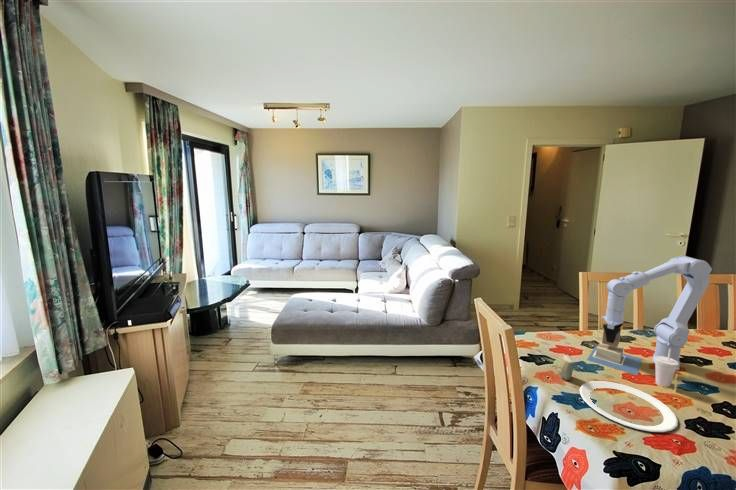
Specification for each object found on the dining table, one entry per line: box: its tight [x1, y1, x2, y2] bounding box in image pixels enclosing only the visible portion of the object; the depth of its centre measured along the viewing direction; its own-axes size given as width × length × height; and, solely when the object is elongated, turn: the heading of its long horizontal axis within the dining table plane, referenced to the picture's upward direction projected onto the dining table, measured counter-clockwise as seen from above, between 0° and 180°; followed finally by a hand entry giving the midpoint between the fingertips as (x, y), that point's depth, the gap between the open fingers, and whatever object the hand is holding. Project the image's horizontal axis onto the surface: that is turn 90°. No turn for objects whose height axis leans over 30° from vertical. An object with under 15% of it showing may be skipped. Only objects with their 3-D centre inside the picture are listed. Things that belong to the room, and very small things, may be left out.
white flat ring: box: [579, 380, 679, 434], centre depth 103 cm, size 25×25×1 cm
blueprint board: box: [586, 345, 643, 376], centre depth 130 cm, size 17×16×1 cm
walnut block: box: [601, 329, 622, 347], centre depth 131 cm, size 5×5×6 cm
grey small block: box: [557, 354, 575, 382], centre depth 118 cm, size 6×5×8 cm
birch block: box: [596, 341, 625, 364], centre depth 132 cm, size 8×8×4 cm
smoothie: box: [653, 349, 680, 388], centre depth 113 cm, size 6×6×14 cm
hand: (611, 340), depth 131 cm, fingers closed on walnut block, 5 cm apart
